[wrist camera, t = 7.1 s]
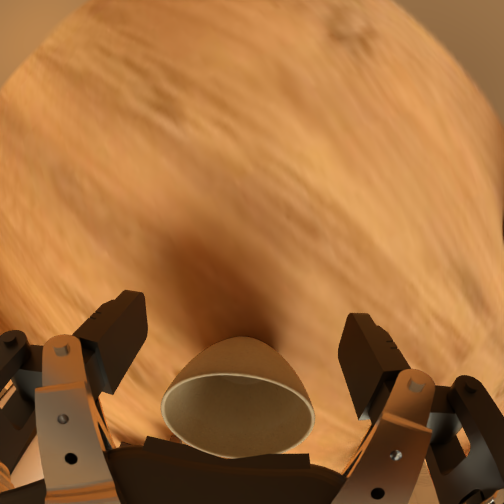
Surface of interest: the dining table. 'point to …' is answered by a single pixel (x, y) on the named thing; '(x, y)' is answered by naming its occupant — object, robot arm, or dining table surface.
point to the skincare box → (424, 489)
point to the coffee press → (25, 455)
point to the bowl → (238, 401)
